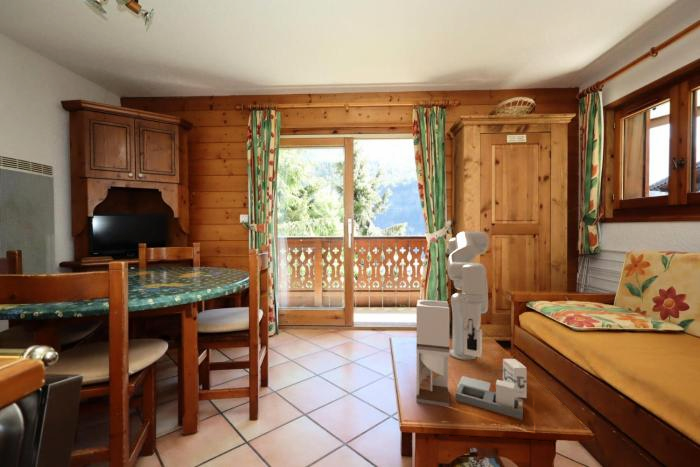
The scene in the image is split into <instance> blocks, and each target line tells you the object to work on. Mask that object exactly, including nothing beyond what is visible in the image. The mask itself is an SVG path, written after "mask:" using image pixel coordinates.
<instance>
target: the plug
mask: <svg viewBox="0 0 700 467" xmlns="http://www.w3.org/2000/svg"><path fill="white" fill-rule="evenodd" d="M472 330H475V329H472ZM467 333H468V327H467V329H465V330H464V354H466V355H471V356H476V357H477V358H481V357H482V354H483V329H482V328H479V329H478V331H476V339H477V350H476V351H475V350H469V349H467ZM473 333H474V332H473Z"/></svg>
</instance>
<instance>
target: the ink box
mask: <svg viewBox="0 0 700 467" xmlns="http://www.w3.org/2000/svg"><path fill="white" fill-rule="evenodd" d="M502 360H503V361H502V381H505V382H509V383H514V384H515V398H518V399H527V393H528V392H527V391H528V390H527V388H528V386H527V370H528V369H527V367H526V366H525V365H524V364H523V363H521V362H520V361H518V360H517V359H516V358H503V359H502Z"/></svg>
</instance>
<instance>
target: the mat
mask: <svg viewBox="0 0 700 467" xmlns="http://www.w3.org/2000/svg"><path fill="white" fill-rule="evenodd" d="M460 384H464V385H468V386H472V387H476V388H479V389H483V390H487V391H490V387H491V382H489V381H485V380H480V379H477V378H474V377H473V378H472V377H468V376H466V375H462V376H461V378H460V380H459V382H458V384H457V386H456V388H458V387H459V385H460Z"/></svg>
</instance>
